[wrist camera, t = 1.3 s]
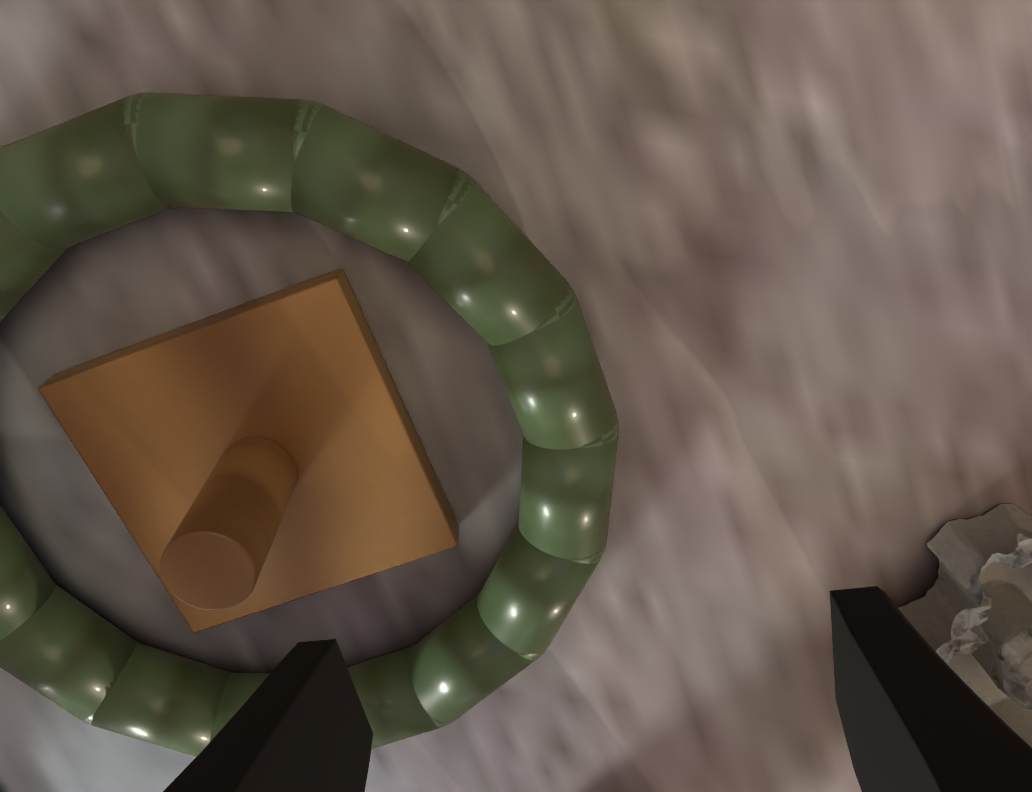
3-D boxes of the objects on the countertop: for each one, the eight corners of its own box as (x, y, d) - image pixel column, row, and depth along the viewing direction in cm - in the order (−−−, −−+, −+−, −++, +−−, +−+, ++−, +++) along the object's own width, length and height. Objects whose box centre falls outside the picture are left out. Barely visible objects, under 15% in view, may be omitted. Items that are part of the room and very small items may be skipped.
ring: (134, 784, 27) (104, 850, 25) (-258, 255, 20) (-347, 282, 18) (684, 611, 26) (703, 666, 23) (463, -34, 19) (461, -43, 16)
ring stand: (203, 612, 25) (134, 759, 20) (55, 373, 22) (-74, 476, 17) (459, 526, 24) (455, 657, 19) (342, 266, 21) (299, 341, 16)
